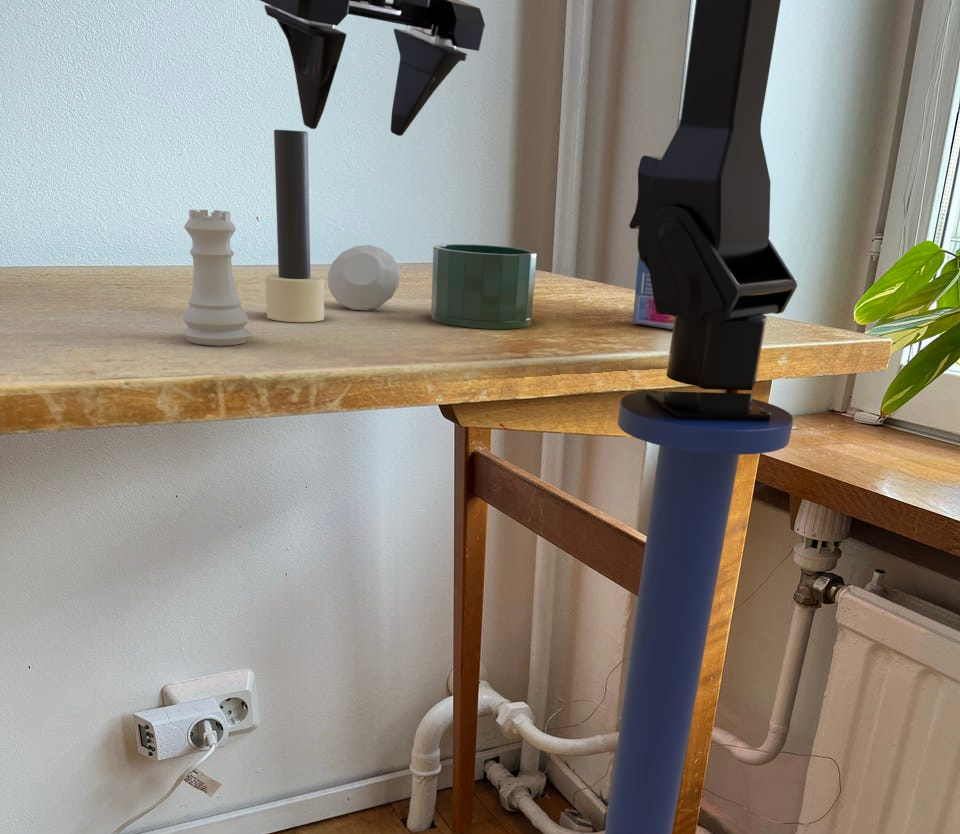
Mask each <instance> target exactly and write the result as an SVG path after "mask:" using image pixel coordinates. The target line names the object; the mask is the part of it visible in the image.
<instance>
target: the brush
mask: <svg viewBox="0 0 960 834" xmlns="http://www.w3.org/2000/svg"><path fill="white" fill-rule="evenodd" d="M273 145H274V147H273V148H274V175H275V176H274V177H275V206H276V209H275V210H276V211H275V212H276V236H277V237H276V238H277V267H278V268H277V270H278V271H277V273H272V274H267V275H265V276H264V278H265V279H264V281H265V282H264V283H265V305H266V318H267V319H269V320H272V321H277V322H285V323H315V322H320V321H324V319H325V284H324V283H325V279H324V278H323V277H321V276H319V275H311V236H310V235H311V234H310V233H311V232H310V228H311V227H310V184H309V183H310V182H309V180H310V179H309V176H310V175H309V132H308V131H306V130H305V131H303V130H293V129H292V130H289V129H273Z"/></svg>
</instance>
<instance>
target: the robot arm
mask: <svg viewBox="0 0 960 834" xmlns="http://www.w3.org/2000/svg"><path fill="white" fill-rule="evenodd" d="M259 1H260V2H262V3H264V5H263V7H264V11H265V14H266V15H267V16H268V17H271V18H272V19H274V20H276V22H277V24H278V25H279V27H280V29H281V31H282V33H283V34H284V36H285V39H286V40H287V43H288V47H289V52H290V55H291V59H292V63H293V69H294V73H295V74H294V75H295V80H296V85H297V86H296V87H297V92H298V99H299V104H300V105H299V106H300V110H301V116H302V121H303V122H302V123H303V125H304V126H305V127H307V128H308V129H311V130H316V129H317V128H318V126H319V124H320V120H321V118H322V116H323V113H324V111H325V109H326V108H325V107H326V105H327V101H328V98H329V94H330V92H331V88H332V85H333V81H334V78H335V75H336V71H337V69H338V65H339V62H340V59H341V57H342V56H341V55H342V52H343V50H344V49H343V48H344V45H345V42H346V38H347V33H346V32H343V31H342V30H339V29H337V28H335V26H339V25H340V24H341V23H342V21H343V20H344V19H345V18H346V17H347V16H348V15H352V16H355V17H356V16H357V17H361V18H368V19H371V20H378V21H383V22H387V23H394V24H398V25H402V26H403V25H404V26H406V29H405V30H403V29H399V28H393V33H394V34H393V35H394V37H395V41H396V45H397V48H398V52H399V63H398V70H397V76H396V83H395V87H394V88H395V90H394V96H393V102H392V110H391V119H390V132H391V134H394V135H395V136H397V137H402V136H403V135H404V134H405V132H407V130H408V128H409V127H410V125H411V124H412V123H413V121H414V120H415V119H416V117H417V116H418V114H419V113H420V112H421V110H422V109H423V108H424V107H425V104H426V103H427V102H428V101H429V99H430V98H431V97H432V95H433V94H434V93H435V91H436V90H437V89H438V87H439V86H440V85H441V84H442V83H443V81H444V80H445V79H446V78H447V77H448V75H449V74H450V73H451V72H452V70H454V68H455V67H456V66H457V65H458V64H459V62H461V61H462V62H466V60H467V58H468V53H467V52H464V51H462V50H460V49H459V48H461V49H465V50H471V51H477V52H480V48H481V44H482V40H483V36H484V31H485V28H486V23H485V20H484V16H483V14H482V10H481V8H480V7H477V6H475V5H472V4H471V3H467V2H465V1H462V0H392V1H386V0H259ZM781 2H782V0H695V4H694V11H693V19H692V27H691V35H690V42H689V51H688V56H687V57H688V58H687V64H686V65H687V66H686V73H685V79H684V80H685V81H684V89H683V96H682V104H681V112H680V118H679V122H678V125H677V128H676V130H675V133H674V134H673V136H672V138H671V139H670V142H669V143H668V145H667V147H666V149H665V150H664V153H663V154H662V156H655V155H643V156H642V157H641V158H640V161H639V165H638V168H637V201H636V205H635V209H634V213H633V215H632V218H631V220H630V222H629V228H630V229H632V230H635V229H637V234H636V235H637V236H636V239H637V240H636V242H637V246H636V247H637V252H638V256H639V257H640V260H641V261H642V262H644V264H645V265H646V267H647V269H648V270H649V272H650V278H651V285H652V291H653V297H654V303H655V309H656V312H657V313H660V314H666V315H672V316H675V318H674V325H673V329H672V331H671V332H672V334H671V341H670V348H669V355H668V361H667V369H666V377H667V379H670V380H671V381H674V382H677V383H680V384H685V385H689V386H695V387H698V388H700V389H703V390H720V391H721V390H722V391H753V389H754V386H755V385H756V381H757V374H758V369H759V364H760V358H761V354H762V353H761V352H762V348H763V342H764V336H765V330H766V325H767V320H768V319H767V318H768V317H767V316H766V315H771V314H775V315H778V314H783V313H784V312H785V310H786V308H787V306H788V304H789V303H790V301H791V299H792V297H793V296H794V293H795V292H796V290H797V287H798V281H797V279H796V278H795V276H794V274H793V273H792V271H791V270H790V269H789V267H788V265H787V264H786V262H785V260H784V258H783V257H782V256H781V254H780V252H779V251H778V250H777V248H776V246H775V245H774V243H773V242H772V240H771V239H770V233H771V231H770V230H771V229H770V228H771V190H772V189H771V187H772V186H771V177H770V173H769V167H768V163H767V158H766V153H765V149H764V148H765V147H764V144H763V138H762V118H763V113H764V106H765V99H766V93H767V87H768V82H769V76H770V68H771V64H772V56H773V51H774V44H775V38H776V32H777V25H778V21H779V13H780V7H781ZM457 48H458V49H457ZM646 391H647V393H646V398H648V399H649V400H650V401H652V402H653V403H654V404H655V405H657V406H658V407H659V408H661V409H662V410H663V411H665V412H666V413H667V414H669V415H670V416H671V417H673V418H675V419H683V420H730V421H769V420H770V416H771V414H770V413H769V412H767V411H765V410H764V409H762V408H760V407H759V406H757V405H755V404H754V403H752V399H754V398H753V397H754V393H746V392H745V393H744V392H709V391H708V392H707V391H705V392H702V391H671V390H670V391H667V390H646Z"/></svg>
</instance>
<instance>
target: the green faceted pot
mask: <svg viewBox="0 0 960 834" xmlns="http://www.w3.org/2000/svg"><path fill="white" fill-rule="evenodd" d="M537 256H538V253H537V251H534V250H531V249H528V248H527V249H526V248H520V247H513V246H512V247H511V246H503V245H490V244H474V243H473V244H471V243H443V244H442V243H441V244H435V245H434V246H433V249H432V275H431V277H432V278H431V279H432V281H431V308H430V310H431V311H430V312H431V319H432V320H433V321H434V322H437V323H440V324H444V325H448V326H453V327H461V328H470V329H480V330H481V329H482V330H483V329H484V330H514V329H522V328H527V327H529V326H531V325H532V317H533V306H534V305H533V304H534V294H535V283H536V282H535V281H536V280H535V279H536V268H537Z"/></svg>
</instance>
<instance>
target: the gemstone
mask: <svg viewBox="0 0 960 834" xmlns="http://www.w3.org/2000/svg"><path fill="white" fill-rule="evenodd" d="M400 279H401V272H400V267H399V265H398V262H397V261H396V259H395V258H394V256H393V255H392V254H390V253H389V252H387V251H386V250H385V249H384V248H382V247H378V246H375V245H370V244H364V245H355V246H352V247H350V248H348V249H346V250H344V251H342V252H341V253H340V254H339V255H338V256H337V257H336V258H335V259H334V260H333V261H332V263H331V265H330V267H329V271H328V273H327V286H328V288H329V292H330V294H331V296H332V297H333V299H335V300H336V302H337V303H339V305H341V306H344V307H346V308H348V309H350V310H351V311H353V310H354V311H355V310H358V311H359V310H360V311H366V312H367V311H369V310H371V309H376V308H380V307H381V306H383V305H384V304H385V303H386V302H388V301H389V300H391V299H392V298H393V296H394V295H395V293H396V292H397V289H398V288H399V286H400Z"/></svg>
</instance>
